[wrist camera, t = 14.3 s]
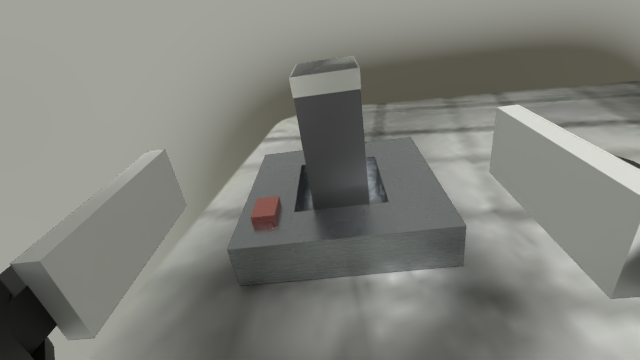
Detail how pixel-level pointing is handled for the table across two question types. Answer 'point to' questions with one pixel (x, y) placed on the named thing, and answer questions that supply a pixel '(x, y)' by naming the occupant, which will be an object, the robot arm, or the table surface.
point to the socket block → (346, 221)
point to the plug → (332, 131)
